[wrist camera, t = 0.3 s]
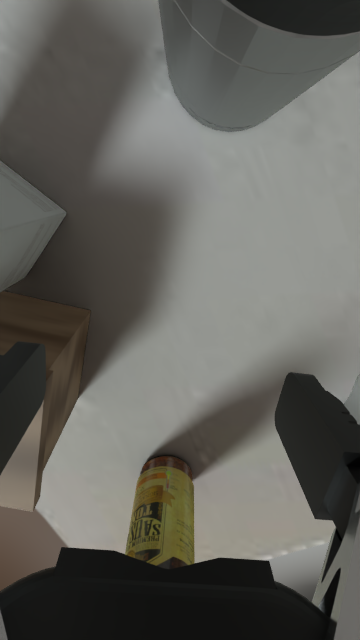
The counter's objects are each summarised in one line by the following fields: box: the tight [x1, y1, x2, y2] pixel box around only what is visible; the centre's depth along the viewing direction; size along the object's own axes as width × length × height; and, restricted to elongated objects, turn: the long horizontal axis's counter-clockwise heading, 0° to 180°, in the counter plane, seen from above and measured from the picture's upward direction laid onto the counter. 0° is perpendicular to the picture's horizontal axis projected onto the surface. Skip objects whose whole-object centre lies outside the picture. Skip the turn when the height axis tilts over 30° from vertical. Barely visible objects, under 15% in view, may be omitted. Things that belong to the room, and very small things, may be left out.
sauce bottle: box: [125, 456, 194, 569], centre depth 28 cm, size 7×6×20 cm
